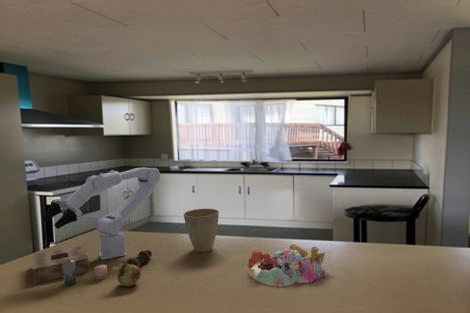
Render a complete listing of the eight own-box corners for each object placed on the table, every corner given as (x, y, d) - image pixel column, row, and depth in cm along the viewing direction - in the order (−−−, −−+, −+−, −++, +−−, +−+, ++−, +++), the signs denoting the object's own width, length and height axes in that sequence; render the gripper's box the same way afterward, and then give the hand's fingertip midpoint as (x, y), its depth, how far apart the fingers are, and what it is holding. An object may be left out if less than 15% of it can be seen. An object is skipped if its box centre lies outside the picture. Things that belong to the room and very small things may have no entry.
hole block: (83, 257, 149) (82, 245, 149) (89, 271, 133) (88, 258, 133) (33, 266, 140) (32, 254, 140) (33, 283, 125) (32, 269, 124)
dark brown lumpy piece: (150, 262, 145) (134, 276, 130) (140, 256, 146) (122, 269, 131) (156, 250, 144) (140, 263, 130) (146, 244, 145) (129, 256, 130)
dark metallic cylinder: (76, 280, 126) (74, 257, 125) (77, 284, 122) (75, 261, 122) (63, 282, 124) (61, 260, 123) (64, 287, 120) (62, 263, 120)
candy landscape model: (282, 255, 142) (282, 232, 141) (336, 270, 125) (335, 244, 124) (238, 275, 124) (236, 249, 124) (293, 296, 108) (292, 266, 107)
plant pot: (201, 241, 163) (199, 207, 162) (227, 246, 154) (225, 210, 153) (178, 251, 151) (175, 214, 150) (204, 257, 142) (202, 218, 141)
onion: (128, 292, 115) (127, 267, 114) (112, 287, 119) (110, 263, 118) (146, 282, 121) (144, 259, 120) (130, 278, 125) (128, 256, 125)
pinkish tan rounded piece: (106, 274, 130) (105, 263, 129) (108, 278, 126) (107, 267, 126) (94, 277, 128) (93, 266, 127) (96, 281, 124) (95, 269, 124)
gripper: (62, 185, 140) (32, 210, 132) (86, 196, 133) (56, 223, 125) (70, 198, 144) (42, 222, 136) (94, 209, 137) (65, 235, 129)
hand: (49, 223), depth 131 cm, fingers open, 7 cm apart
